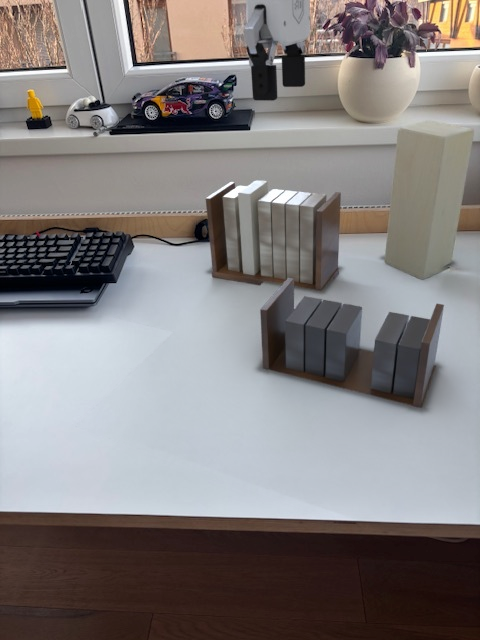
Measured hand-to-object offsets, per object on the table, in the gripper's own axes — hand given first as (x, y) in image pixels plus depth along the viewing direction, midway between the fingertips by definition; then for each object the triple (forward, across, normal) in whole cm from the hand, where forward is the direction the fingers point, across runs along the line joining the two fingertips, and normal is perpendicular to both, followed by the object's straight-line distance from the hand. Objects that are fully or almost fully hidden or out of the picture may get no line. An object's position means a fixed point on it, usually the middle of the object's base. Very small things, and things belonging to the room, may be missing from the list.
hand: (280, 92), depth 73 cm
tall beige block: (+27, +9, -19) cm, 34 cm away
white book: (+26, -2, +4) cm, 26 cm away
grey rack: (+27, -22, -17) cm, 38 cm away
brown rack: (+27, -2, +1) cm, 27 cm away
